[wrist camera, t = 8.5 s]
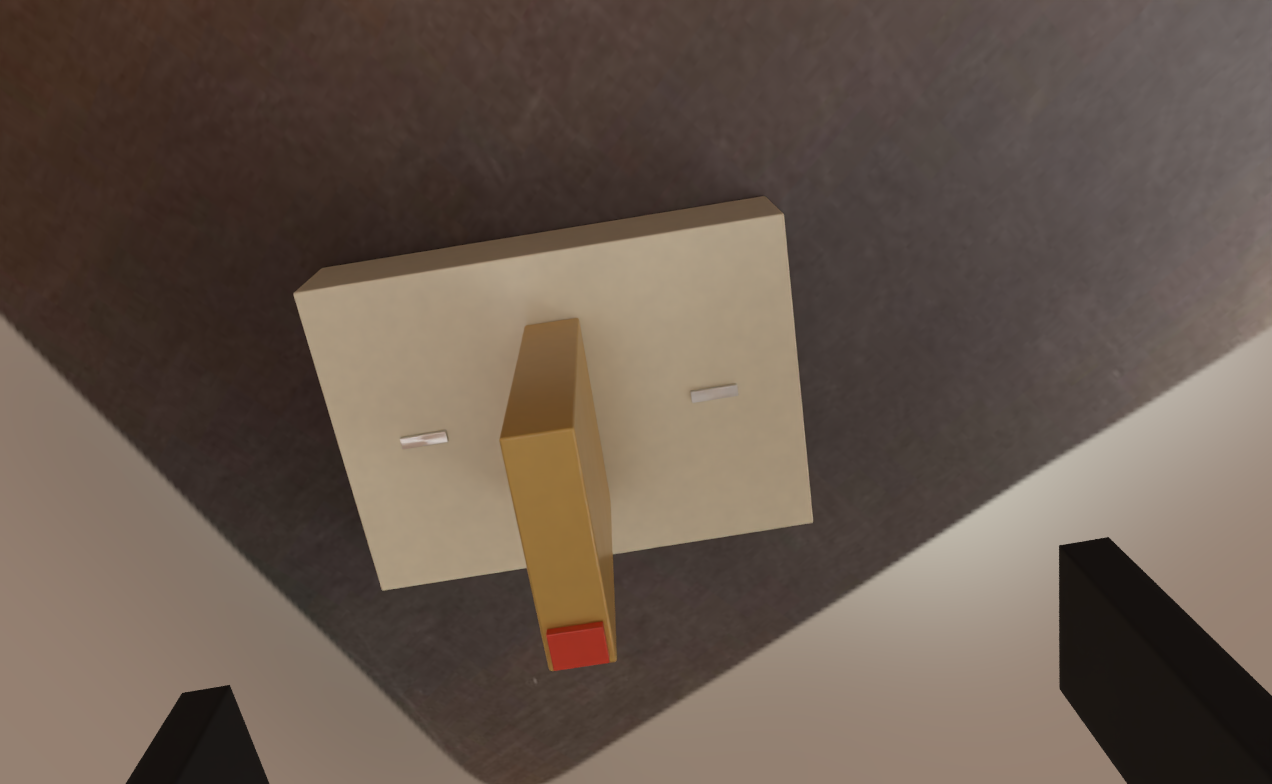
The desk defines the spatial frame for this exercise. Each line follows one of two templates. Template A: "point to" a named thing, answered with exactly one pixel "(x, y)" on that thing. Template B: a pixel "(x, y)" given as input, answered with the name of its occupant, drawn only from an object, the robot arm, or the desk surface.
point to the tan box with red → (561, 495)
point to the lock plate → (618, 371)
